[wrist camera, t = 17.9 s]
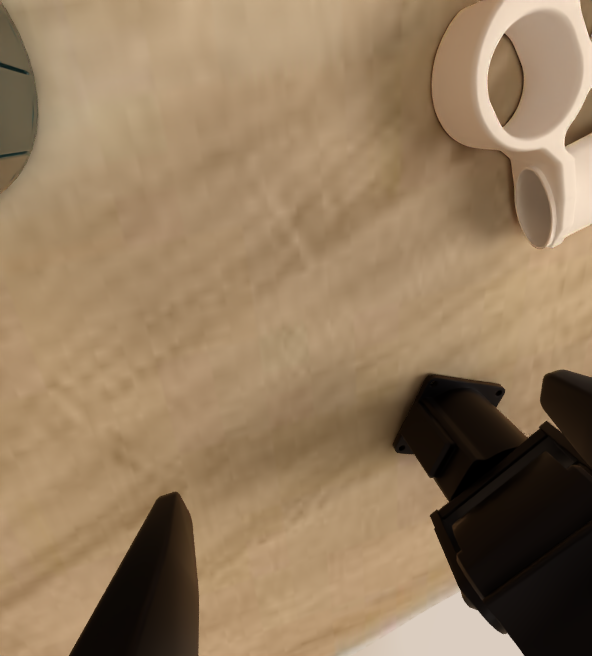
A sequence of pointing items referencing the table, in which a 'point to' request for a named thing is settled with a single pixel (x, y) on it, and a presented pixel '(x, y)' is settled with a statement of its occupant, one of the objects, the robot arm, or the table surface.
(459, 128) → the knuckle duster
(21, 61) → the shallow bowl
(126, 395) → the table surface
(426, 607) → the table surface
